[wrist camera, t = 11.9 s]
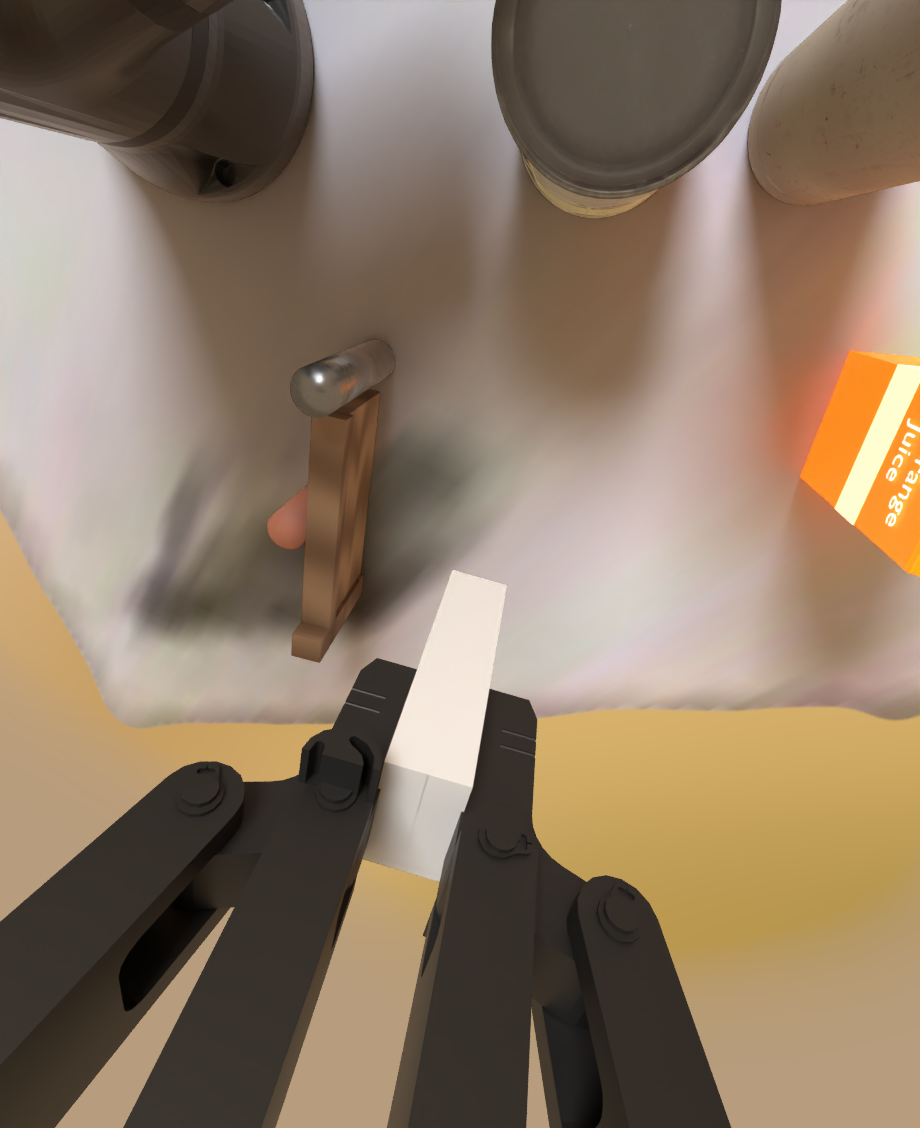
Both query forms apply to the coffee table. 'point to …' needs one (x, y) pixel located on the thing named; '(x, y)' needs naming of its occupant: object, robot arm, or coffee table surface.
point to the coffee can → (624, 90)
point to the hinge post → (341, 377)
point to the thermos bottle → (843, 107)
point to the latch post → (290, 522)
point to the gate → (335, 521)
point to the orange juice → (874, 452)
